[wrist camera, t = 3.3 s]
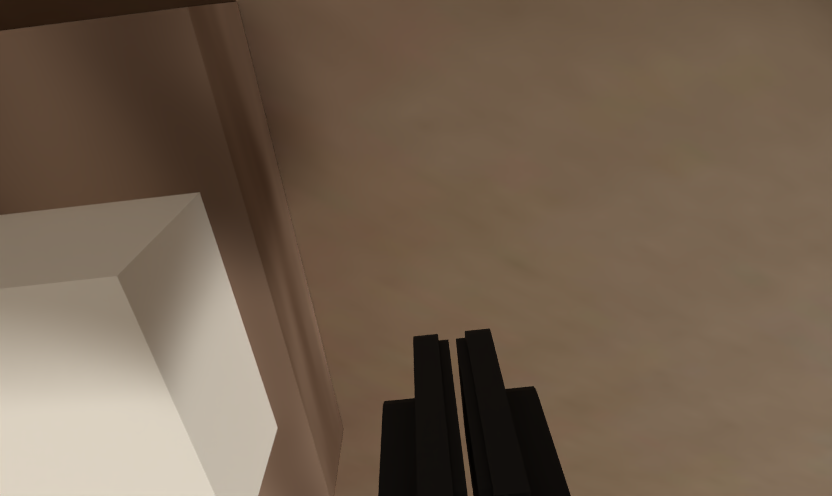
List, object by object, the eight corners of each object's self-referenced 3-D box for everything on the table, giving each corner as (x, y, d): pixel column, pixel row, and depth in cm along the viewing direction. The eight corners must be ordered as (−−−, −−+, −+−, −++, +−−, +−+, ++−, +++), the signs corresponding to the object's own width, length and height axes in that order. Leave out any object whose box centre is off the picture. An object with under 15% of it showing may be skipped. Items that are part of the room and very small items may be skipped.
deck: (236, 1, 14) (187, 6, 11) (343, 429, 21) (332, 506, 18) (-257, 64, 14) (-444, 87, 11) (16, 460, 22) (-50, 541, 18)
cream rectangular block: (199, 192, 12) (116, 276, 9) (277, 427, 16) (241, 553, 13) (-190, 236, 13) (-419, 334, 9) (-27, 456, 16) (-146, 586, 13)
